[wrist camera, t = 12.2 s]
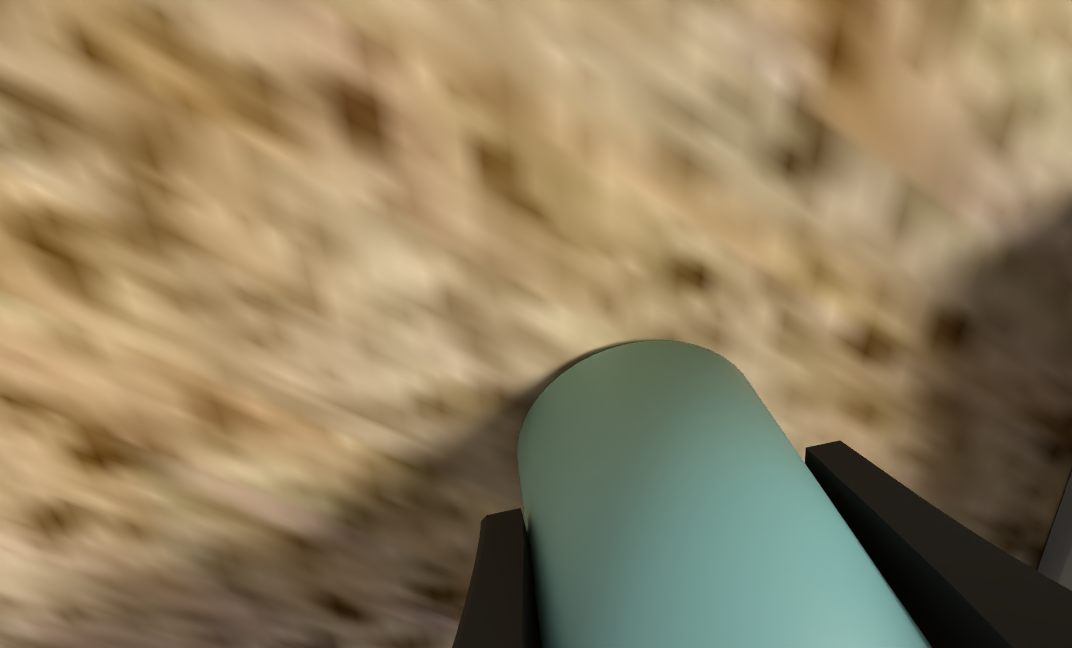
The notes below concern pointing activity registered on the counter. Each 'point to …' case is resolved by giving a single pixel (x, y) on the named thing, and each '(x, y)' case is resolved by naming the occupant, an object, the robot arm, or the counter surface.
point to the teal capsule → (686, 516)
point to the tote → (1060, 544)
